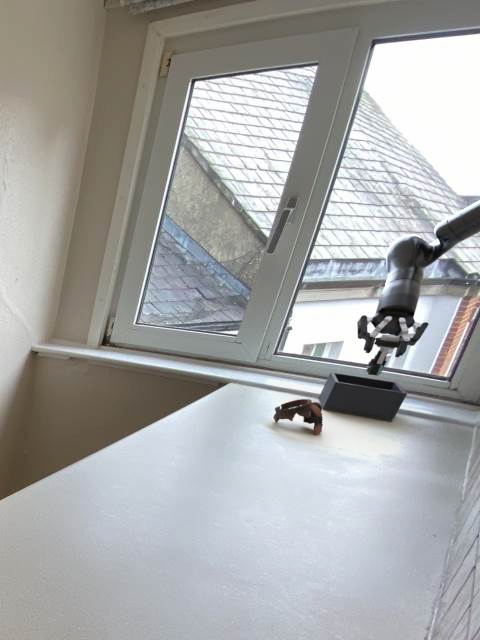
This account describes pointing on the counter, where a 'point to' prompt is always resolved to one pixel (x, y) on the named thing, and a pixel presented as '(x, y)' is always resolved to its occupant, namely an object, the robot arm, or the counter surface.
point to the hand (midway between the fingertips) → (383, 353)
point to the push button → (382, 353)
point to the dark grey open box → (362, 396)
